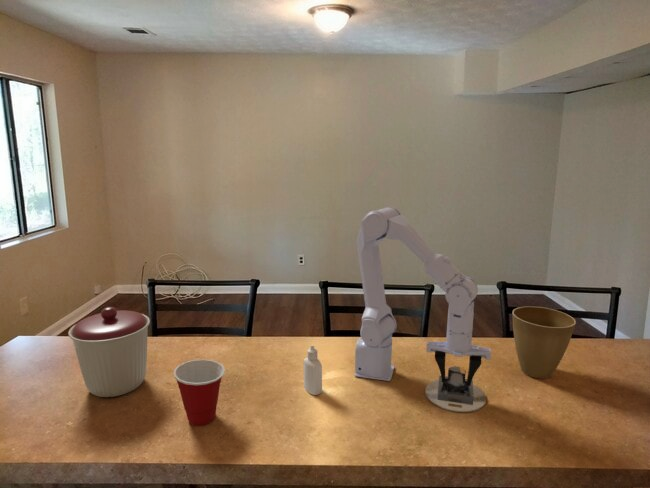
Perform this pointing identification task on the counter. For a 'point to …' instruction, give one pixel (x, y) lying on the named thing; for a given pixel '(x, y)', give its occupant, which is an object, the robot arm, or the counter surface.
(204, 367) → the plastic cup
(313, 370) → the eye dropper bottle
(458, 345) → the robot arm
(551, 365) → the plant pot
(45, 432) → the counter surface
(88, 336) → the canister
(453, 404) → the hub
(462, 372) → the shaft
